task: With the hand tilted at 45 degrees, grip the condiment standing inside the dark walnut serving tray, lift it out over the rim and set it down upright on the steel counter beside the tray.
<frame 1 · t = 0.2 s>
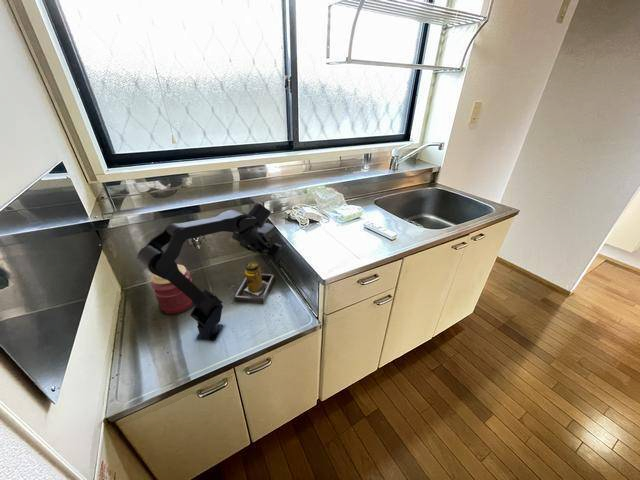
hand: (271, 256, 103), 15 cm above the countertop, tool tilted 30°, fingers open, 9 cm apart
kitchen canister: (179, 302, 101), on the countertop
condiment: (257, 287, 109), resting in tray
tray: (255, 289, 108), on the countertop
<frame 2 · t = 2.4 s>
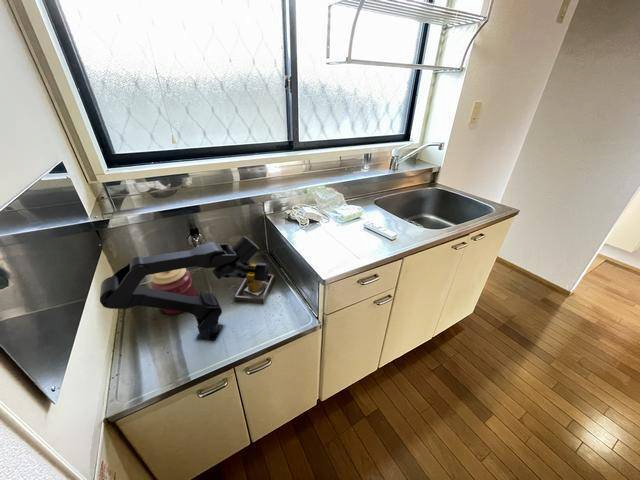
hand: (250, 273, 100), 11 cm above the countertop, tool tilted 45°, fingers open, 9 cm apart
nothing on the countertop moved.
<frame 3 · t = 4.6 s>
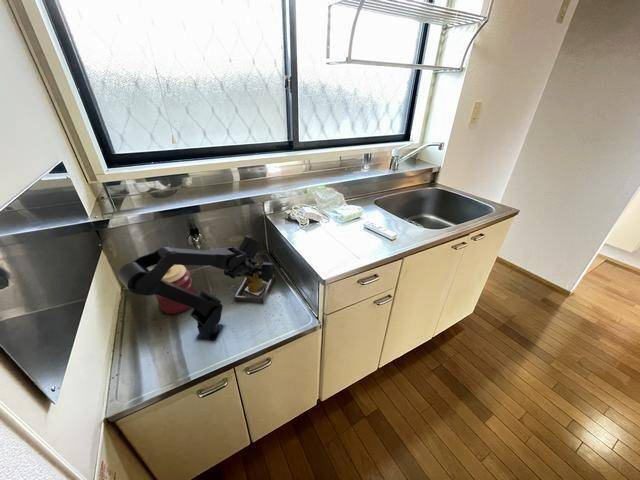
hand: (256, 272, 107), 7 cm above the countertop, tool tilted 45°, fingers closed on condiment, 6 cm apart
condiment: (257, 287, 109), resting in tray, touching gripper
everything else where it was.
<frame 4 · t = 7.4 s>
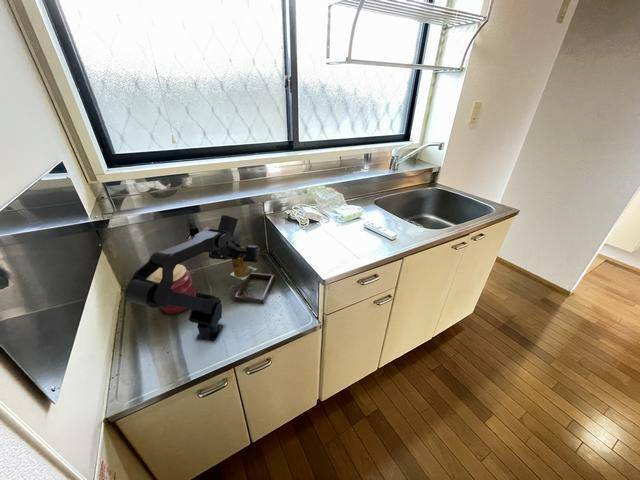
hand: (242, 256, 106), 13 cm above the countertop, tool tilted 45°, fingers closed on condiment, 6 cm apart
condiment: (243, 272, 108), point 6 cm above the countertop, touching gripper
everything else where it was.
when the fingers open (7 cm above the countertop, at t = 10.4 s): condiment stays where it is, on the countertop.
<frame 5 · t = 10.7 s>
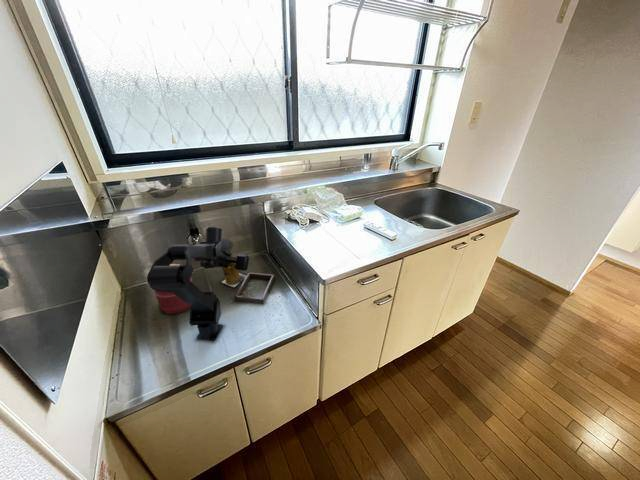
hand: (233, 264, 111), 7 cm above the countertop, tool tilted 45°, fingers open, 9 cm apart
condiment: (234, 279, 113), on the countertop
everything else where it was.
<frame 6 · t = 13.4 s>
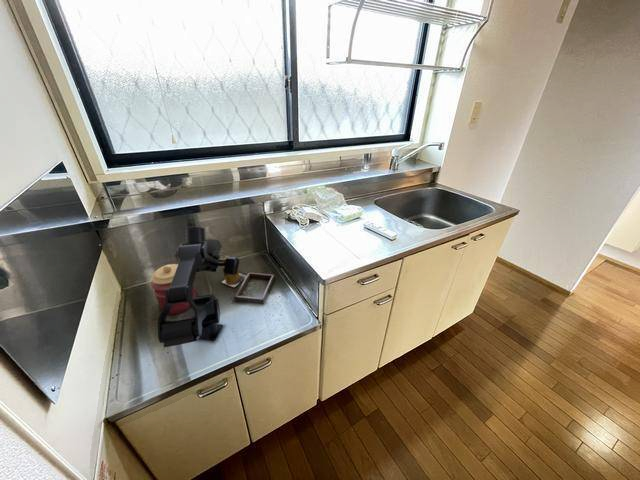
hand: (222, 267, 102), 12 cm above the countertop, tool tilted 45°, fingers open, 9 cm apart
nothing on the countertop moved.
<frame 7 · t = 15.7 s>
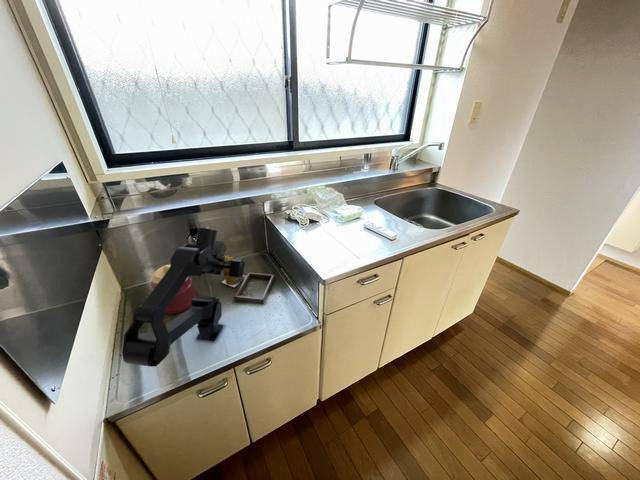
hand: (227, 269, 98), 13 cm above the countertop, tool tilted 45°, fingers open, 9 cm apart
nothing on the countertop moved.
at the end: condiment inside the target area (1.3 cm from its centre), on the countertop; condiment tilted 0°; the gripper is holding nothing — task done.
